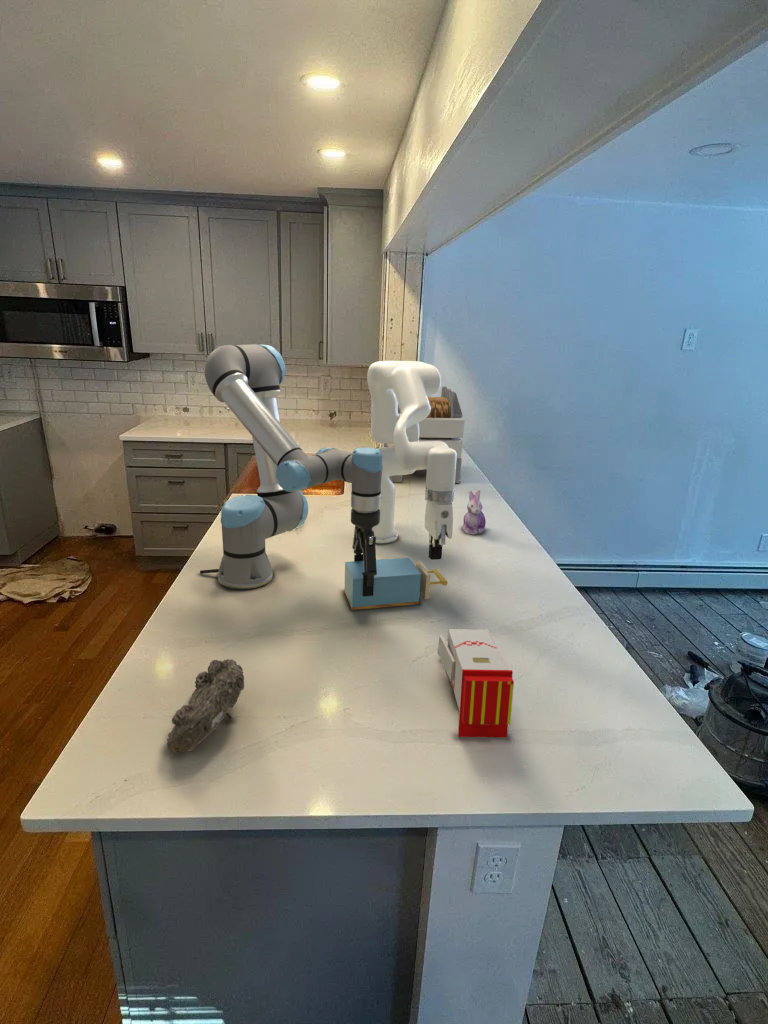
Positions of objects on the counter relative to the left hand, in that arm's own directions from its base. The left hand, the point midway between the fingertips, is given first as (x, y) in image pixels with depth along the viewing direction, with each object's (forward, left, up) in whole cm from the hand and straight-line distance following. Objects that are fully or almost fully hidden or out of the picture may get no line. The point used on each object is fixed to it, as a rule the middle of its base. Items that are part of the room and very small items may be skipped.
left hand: (363, 585), depth 153 cm
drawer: (+10, +5, -3) cm, 12 cm away
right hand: (+18, +9, +7) cm, 21 cm away
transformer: (-5, +130, -4) cm, 130 cm away
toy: (+31, -32, -4) cm, 45 cm away
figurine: (+26, +61, -4) cm, 67 cm away
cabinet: (+5, +2, -4) cm, 7 cm away
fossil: (-16, -53, -4) cm, 56 cm away
